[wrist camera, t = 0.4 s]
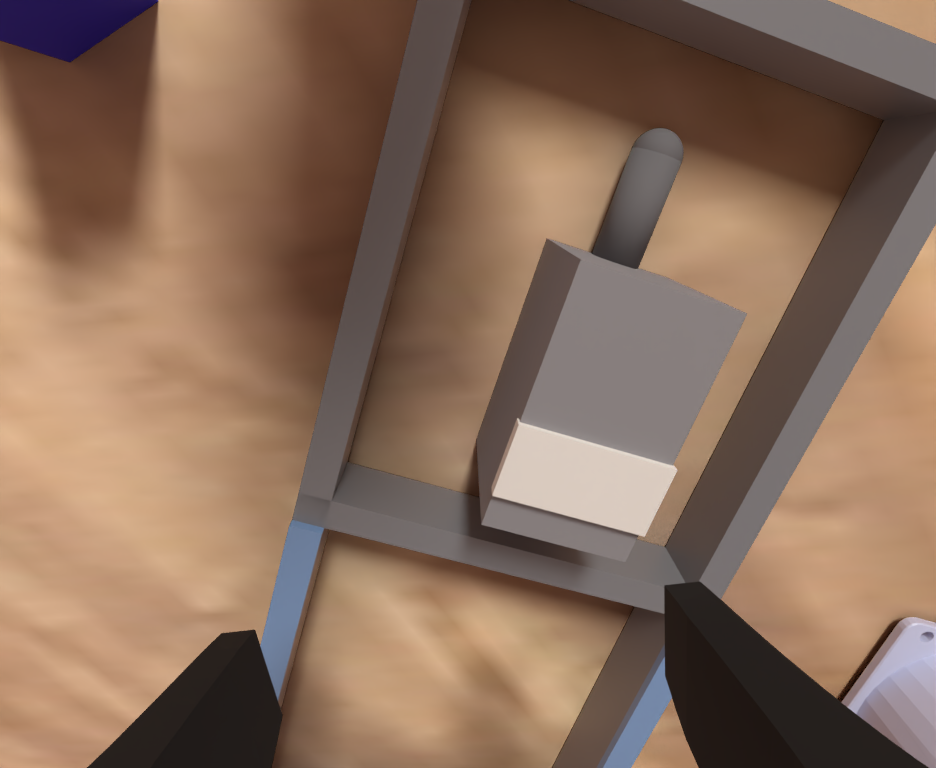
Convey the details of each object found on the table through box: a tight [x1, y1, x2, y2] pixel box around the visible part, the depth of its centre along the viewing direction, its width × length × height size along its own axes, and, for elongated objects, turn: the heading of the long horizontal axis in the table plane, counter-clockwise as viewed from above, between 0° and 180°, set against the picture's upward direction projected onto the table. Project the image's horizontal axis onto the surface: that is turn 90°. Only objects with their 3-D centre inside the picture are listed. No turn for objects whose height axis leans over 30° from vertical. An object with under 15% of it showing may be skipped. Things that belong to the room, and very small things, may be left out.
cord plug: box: [476, 128, 747, 562], centre depth 15 cm, size 4×11×5 cm, turn 162°
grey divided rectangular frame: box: [260, 0, 936, 768], centre depth 18 cm, size 14×34×5 cm, turn 163°
